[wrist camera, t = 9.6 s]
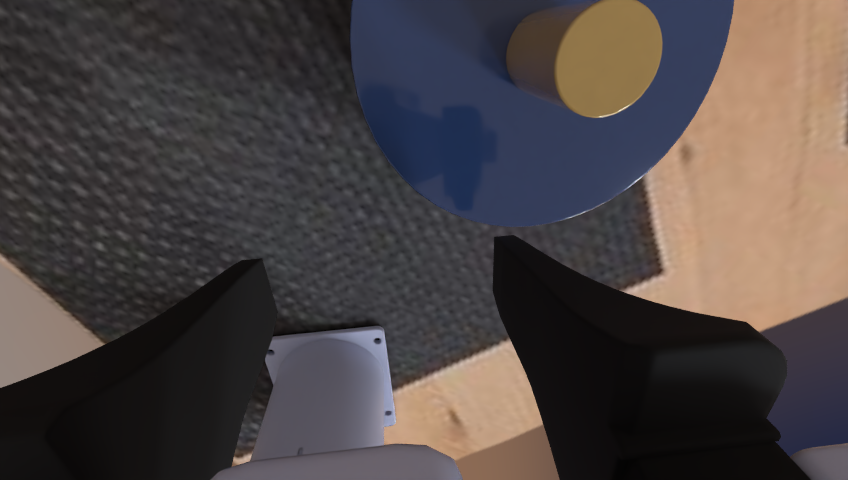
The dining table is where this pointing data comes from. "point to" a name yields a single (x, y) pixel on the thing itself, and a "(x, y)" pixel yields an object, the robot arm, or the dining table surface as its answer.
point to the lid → (531, 96)
